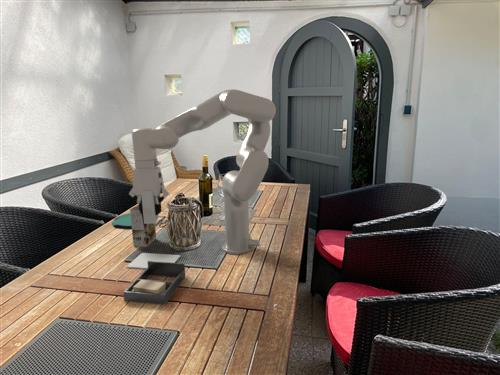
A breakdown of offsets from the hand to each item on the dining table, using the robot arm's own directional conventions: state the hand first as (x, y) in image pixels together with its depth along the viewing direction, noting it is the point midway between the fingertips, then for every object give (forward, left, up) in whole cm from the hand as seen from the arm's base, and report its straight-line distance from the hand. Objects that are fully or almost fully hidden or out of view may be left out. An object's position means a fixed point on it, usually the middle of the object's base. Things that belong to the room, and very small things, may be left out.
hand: (150, 213), depth 133 cm
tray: (-9, +18, -19) cm, 28 cm away
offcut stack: (-9, +23, -20) cm, 31 cm away
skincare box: (0, 0, -3) cm, 3 cm away
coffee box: (+12, -17, -19) cm, 29 cm away
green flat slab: (+25, -41, -20) cm, 52 cm away
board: (0, 0, -19) cm, 19 cm away
